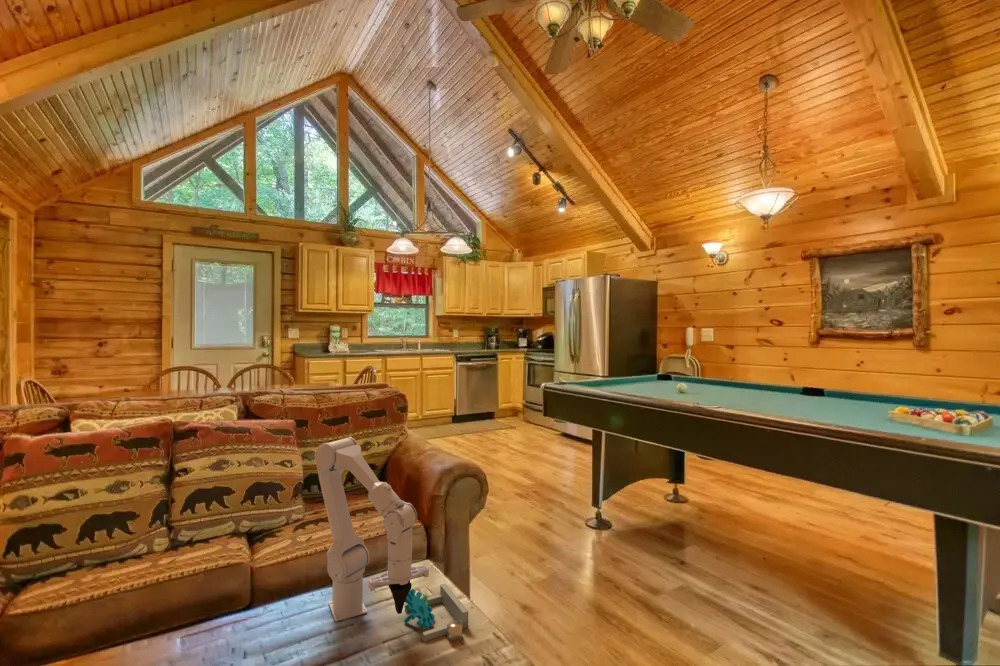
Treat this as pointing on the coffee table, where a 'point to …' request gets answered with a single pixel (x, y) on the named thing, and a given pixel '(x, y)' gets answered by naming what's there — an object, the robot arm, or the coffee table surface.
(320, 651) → the coffee table surface
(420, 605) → the gear
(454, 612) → the cradle
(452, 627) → the bushing
